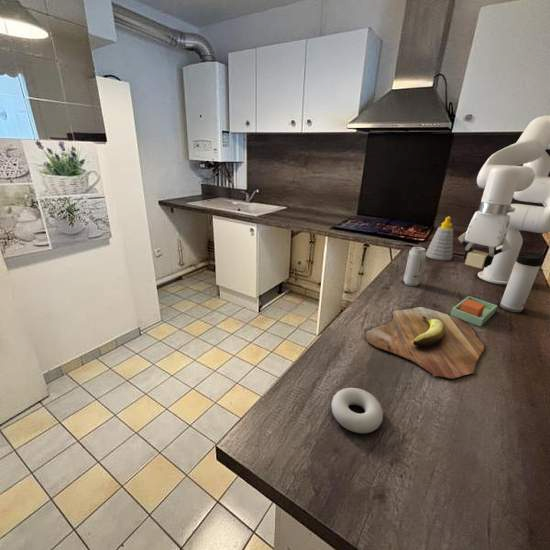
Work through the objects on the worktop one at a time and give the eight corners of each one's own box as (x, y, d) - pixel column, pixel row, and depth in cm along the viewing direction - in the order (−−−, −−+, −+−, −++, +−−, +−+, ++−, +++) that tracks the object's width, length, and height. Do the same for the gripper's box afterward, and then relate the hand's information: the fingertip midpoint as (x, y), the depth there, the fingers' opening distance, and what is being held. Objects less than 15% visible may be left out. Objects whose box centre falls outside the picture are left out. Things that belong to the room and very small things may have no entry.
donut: (369, 395, 63) (325, 396, 62) (372, 383, 62) (326, 384, 61) (390, 436, 54) (338, 439, 53) (394, 423, 53) (340, 425, 52)
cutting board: (465, 393, 64) (470, 380, 63) (354, 341, 81) (356, 330, 80) (493, 330, 88) (497, 319, 86) (402, 300, 105) (404, 290, 103)
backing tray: (466, 302, 104) (468, 295, 103) (495, 312, 98) (497, 305, 97) (450, 315, 96) (452, 308, 95) (480, 326, 90) (483, 319, 89)
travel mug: (527, 313, 98) (550, 257, 90) (505, 311, 99) (526, 255, 91) (516, 305, 103) (537, 251, 95) (496, 303, 104) (515, 249, 97)
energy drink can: (414, 287, 115) (423, 251, 109) (400, 283, 119) (407, 248, 113) (421, 283, 118) (429, 248, 113) (407, 279, 123) (414, 245, 117)
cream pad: (470, 261, 100) (474, 249, 99) (487, 265, 97) (491, 253, 95) (464, 264, 97) (467, 252, 96) (481, 268, 94) (485, 257, 92)
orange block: (464, 309, 98) (468, 298, 97) (481, 315, 95) (485, 304, 93) (458, 314, 95) (461, 303, 93) (475, 321, 92) (479, 309, 90)
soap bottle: (452, 255, 153) (463, 217, 145) (451, 262, 143) (462, 221, 135) (426, 251, 159) (435, 214, 151) (423, 257, 149) (433, 218, 141)
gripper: (531, 212, 86) (510, 269, 93) (467, 204, 98) (453, 255, 105) (524, 215, 82) (502, 274, 89) (458, 206, 94) (444, 259, 101)
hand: (476, 263), depth 97 cm, fingers closed on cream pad, 5 cm apart
